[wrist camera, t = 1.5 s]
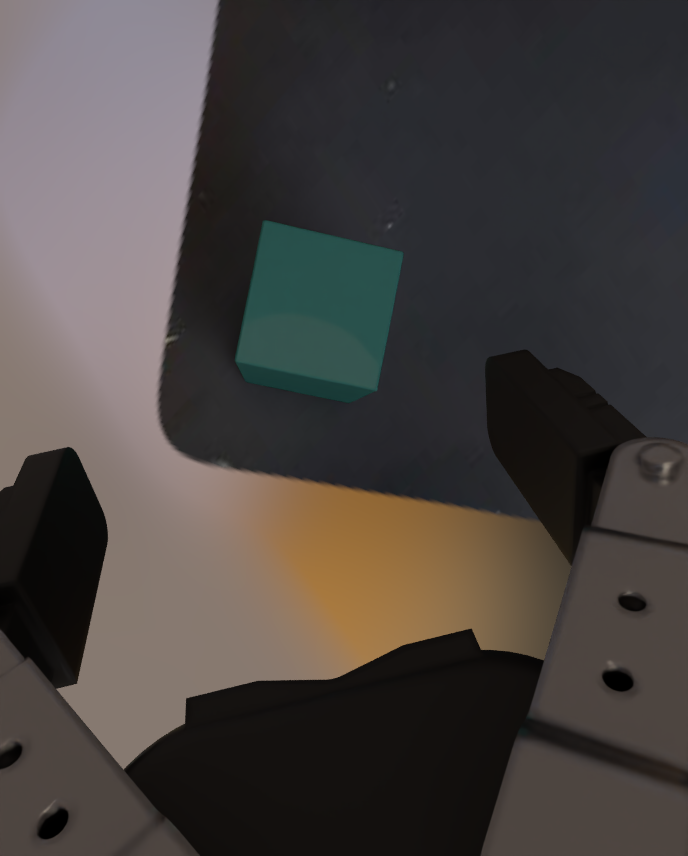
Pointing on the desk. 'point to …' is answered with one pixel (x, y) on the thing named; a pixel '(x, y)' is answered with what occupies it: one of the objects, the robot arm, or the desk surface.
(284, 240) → the teal block
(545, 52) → the desk surface
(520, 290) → the desk surface
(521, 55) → the desk surface
